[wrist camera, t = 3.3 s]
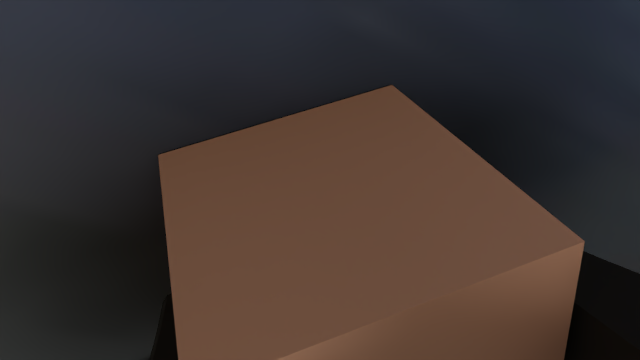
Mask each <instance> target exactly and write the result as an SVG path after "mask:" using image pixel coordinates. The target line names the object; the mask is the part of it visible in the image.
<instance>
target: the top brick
mask: <svg viewBox="0 0 640 360" xmlns="http://www.w3.org/2000/svg"><path fill="white" fill-rule="evenodd" d="M158 159H159V169H160V180H161V190H162V200H163V210H164V220H165V230H166V240H167V250H168V261H169V271H170V281H171V291H172V301H173V311H174V321H175V331H176V342H177V352H178V360H564V356H565V350H566V345H567V339H568V333H569V328H570V322H571V316H572V311H573V305H574V299H575V294H576V288H577V282H578V277H579V271H580V265H581V260H582V254H583V249H584V243H585V241H584V240H582V239H581V238H580V237H579V236H578V235H576V234H575V233H574V232H573V231H571V230H570V229H569V228H568V227H566V226H565V225H564V224H563V223H561V222H560V221H559V220H558V219H557V218H555V217H554V216H553V215H552V214H550V213H549V212H548V211H547V210H545V209H544V208H543V207H542V206H541V205H539V204H538V203H537V202H536V201H534V200H533V199H532V198H531V197H529V196H528V195H527V194H526V193H525V192H523V191H522V190H521V189H520V188H518V187H517V186H516V185H515V184H513V183H512V182H511V181H510V180H509V179H507V178H506V177H505V176H504V175H502V174H501V173H500V172H499V171H497V170H496V169H495V168H494V167H493V166H491V165H490V164H489V163H488V162H486V161H485V160H484V159H483V158H481V157H480V156H479V155H478V154H477V153H475V152H474V151H473V150H472V149H470V148H469V147H468V146H467V145H465V144H464V143H463V142H462V141H461V140H459V139H458V138H457V137H456V136H454V135H453V134H452V133H451V132H449V131H448V130H447V129H446V128H445V127H443V126H442V125H441V124H440V123H438V122H437V121H436V120H435V119H433V118H432V117H431V116H430V115H429V114H427V113H426V112H425V111H424V110H422V109H421V108H420V107H419V106H417V105H416V104H415V103H414V102H413V101H411V100H410V99H409V98H408V97H406V96H405V95H404V94H403V93H401V92H400V91H399V90H398V89H397V88H395V87H394V86H393V85H390V86H386V87H383V88H380V89H376V90H373V91H370V92H366V93H363V94H360V95H356V96H353V97H350V98H346V99H343V100H340V101H336V102H333V103H330V104H326V105H323V106H320V107H316V108H313V109H310V110H306V111H303V112H300V113H296V114H293V115H290V116H286V117H283V118H280V119H276V120H273V121H270V122H266V123H263V124H260V125H256V126H253V127H250V128H246V129H243V130H240V131H236V132H233V133H230V134H226V135H223V136H220V137H216V138H213V139H210V140H206V141H203V142H200V143H196V144H193V145H190V146H186V147H183V148H180V149H176V150H173V151H170V152H166V153H163V154H160V155H158Z"/></svg>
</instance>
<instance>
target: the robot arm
mask: <svg viewBox="0 0 640 360" xmlns="http://www.w3.org/2000/svg"><path fill="white" fill-rule="evenodd" d="M150 360H178V352H177V342H176V331H175V321H174V311H173V301H172V294H170V295H167V297H166V298H165V300H164V301H163V305H162V310H161V315H160V320H159V324H158V329H157V333H156V337H155V341H154V345H153V349H152V352H151V356H150ZM564 360H640V274H639V273H636V272H633V271H631V270H628V269H626V268H623V267H621V266H618V265H616V264H613V263H611V262H608V261H606V260H603V259H601V258H598V257H596V256H594V255H591V254H589V253H587V252H584V251H583V254H582V260H581V265H580V271H579V277H578V282H577V288H576V294H575V299H574V305H573V311H572V316H571V322H570V328H569V333H568V339H567V345H566V350H565V356H564Z"/></svg>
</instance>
